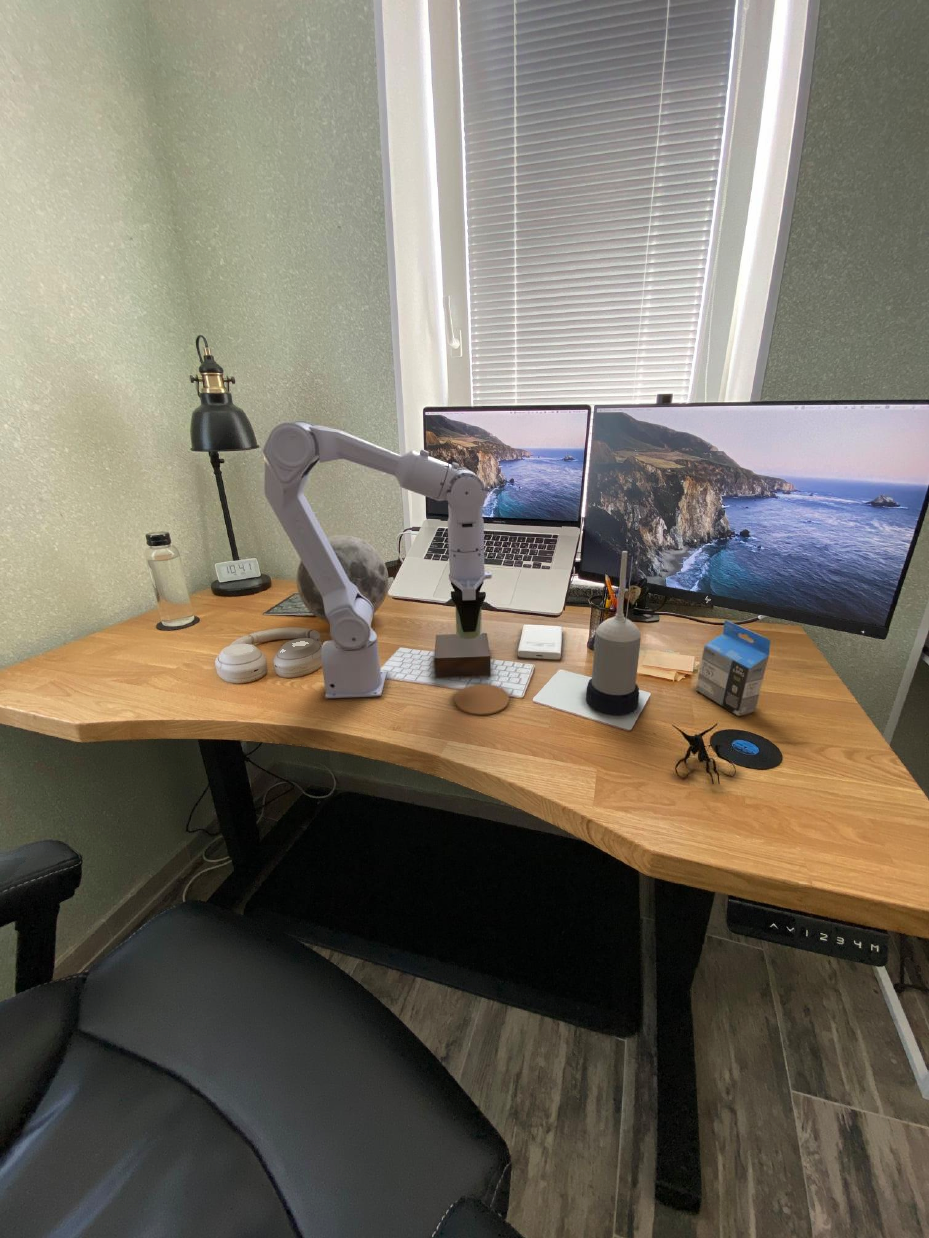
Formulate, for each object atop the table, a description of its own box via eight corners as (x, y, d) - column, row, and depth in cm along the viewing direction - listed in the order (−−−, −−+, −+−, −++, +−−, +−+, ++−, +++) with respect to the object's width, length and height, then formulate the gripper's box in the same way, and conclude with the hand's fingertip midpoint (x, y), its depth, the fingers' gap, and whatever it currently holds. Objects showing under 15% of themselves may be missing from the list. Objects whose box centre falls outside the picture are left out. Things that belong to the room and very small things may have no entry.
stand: (435, 677, 91) (434, 658, 89) (437, 652, 100) (435, 634, 99) (490, 675, 91) (490, 656, 89) (487, 651, 100) (486, 632, 99)
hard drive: (562, 633, 107) (560, 660, 96) (523, 631, 109) (517, 657, 97) (562, 626, 106) (560, 652, 95) (523, 624, 108) (517, 649, 97)
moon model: (303, 612, 123) (289, 531, 115) (384, 601, 128) (377, 523, 120) (304, 645, 105) (288, 552, 97) (399, 631, 110) (391, 542, 103)
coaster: (454, 716, 79) (454, 714, 79) (454, 687, 88) (454, 685, 88) (511, 714, 79) (511, 712, 79) (506, 685, 88) (506, 683, 88)
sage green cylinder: (456, 639, 85) (455, 600, 82) (456, 628, 89) (454, 591, 86) (482, 638, 85) (481, 599, 82) (481, 627, 89) (480, 590, 86)
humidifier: (616, 684, 87) (630, 542, 77) (649, 708, 80) (668, 555, 70) (576, 694, 84) (584, 549, 74) (605, 720, 77) (619, 563, 67)
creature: (743, 791, 64) (715, 742, 70) (756, 764, 61) (726, 715, 67) (682, 794, 64) (659, 745, 70) (692, 767, 60) (667, 718, 67)
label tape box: (694, 690, 84) (705, 622, 80) (713, 685, 86) (725, 618, 81) (737, 717, 77) (752, 644, 72) (757, 711, 78) (774, 639, 73)
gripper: (494, 559, 74) (495, 642, 80) (487, 536, 88) (488, 608, 93) (447, 561, 74) (451, 644, 80) (447, 537, 88) (450, 610, 93)
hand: (468, 625), depth 86 cm, fingers closed on sage green cylinder, 4 cm apart
